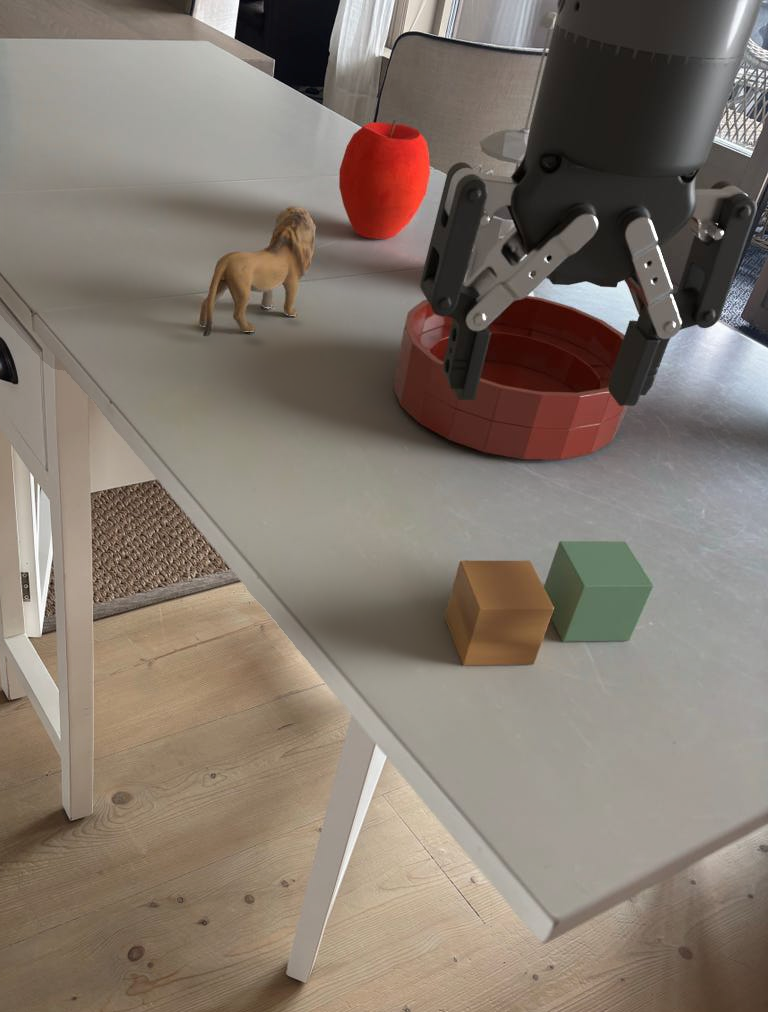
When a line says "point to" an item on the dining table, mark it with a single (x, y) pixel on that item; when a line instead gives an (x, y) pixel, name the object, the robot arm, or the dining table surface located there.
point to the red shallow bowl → (518, 381)
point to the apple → (384, 178)
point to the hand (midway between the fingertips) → (542, 396)
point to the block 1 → (498, 612)
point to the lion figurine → (264, 269)
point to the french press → (513, 149)
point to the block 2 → (596, 591)
